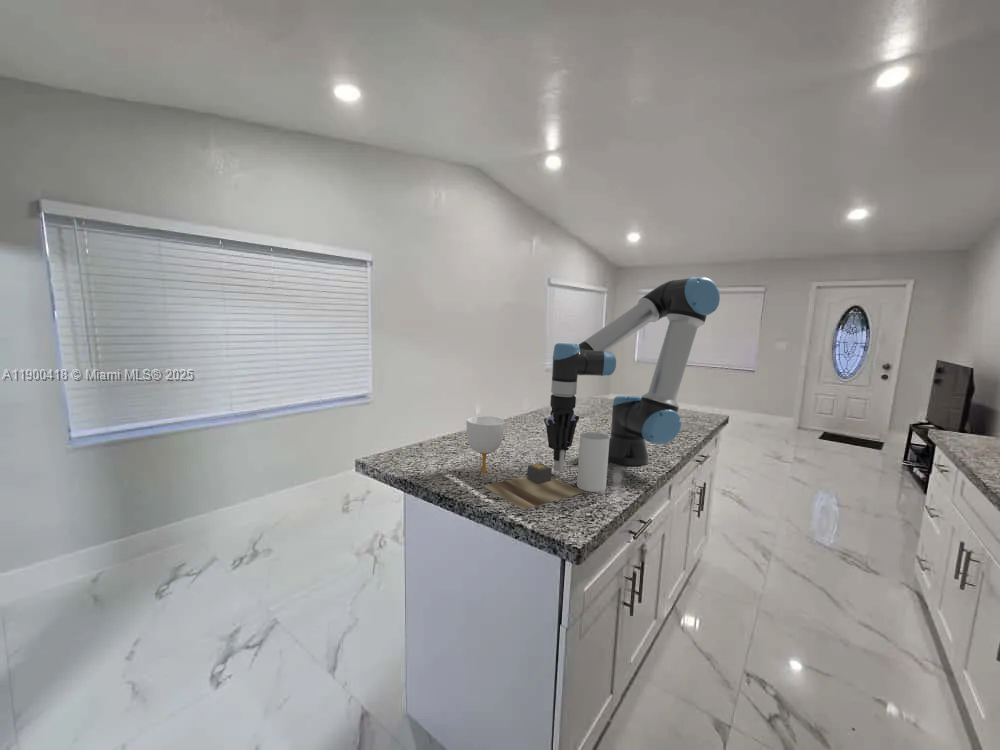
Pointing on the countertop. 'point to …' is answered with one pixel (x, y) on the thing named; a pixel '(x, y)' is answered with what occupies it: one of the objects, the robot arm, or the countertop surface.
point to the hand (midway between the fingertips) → (558, 470)
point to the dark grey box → (539, 473)
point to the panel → (532, 491)
